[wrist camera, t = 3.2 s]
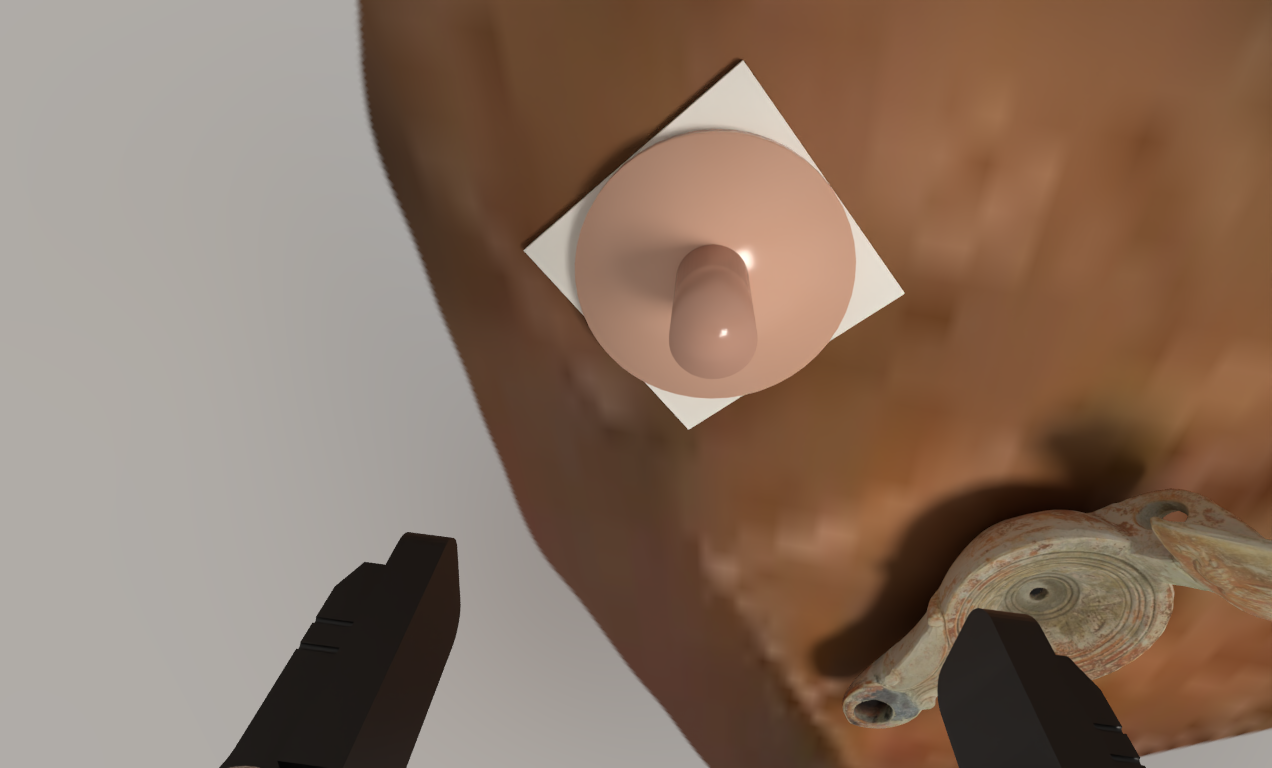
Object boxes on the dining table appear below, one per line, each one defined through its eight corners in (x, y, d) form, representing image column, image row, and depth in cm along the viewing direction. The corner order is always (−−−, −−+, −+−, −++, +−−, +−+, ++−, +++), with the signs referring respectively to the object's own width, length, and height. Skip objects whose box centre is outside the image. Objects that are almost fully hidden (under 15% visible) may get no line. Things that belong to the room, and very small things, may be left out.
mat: (902, 289, 25) (904, 293, 24) (688, 424, 28) (688, 429, 28) (742, 59, 21) (743, 60, 21) (526, 247, 25) (523, 250, 25)
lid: (904, 293, 24) (955, 369, 19) (688, 429, 28) (683, 521, 23) (743, 60, 21) (754, 79, 16) (523, 250, 25) (477, 312, 20)
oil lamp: (1301, 476, 27) (1579, 698, 18) (894, 708, 37) (951, 926, 28) (1174, 354, 25) (1419, 540, 16) (777, 633, 35) (800, 844, 26)
